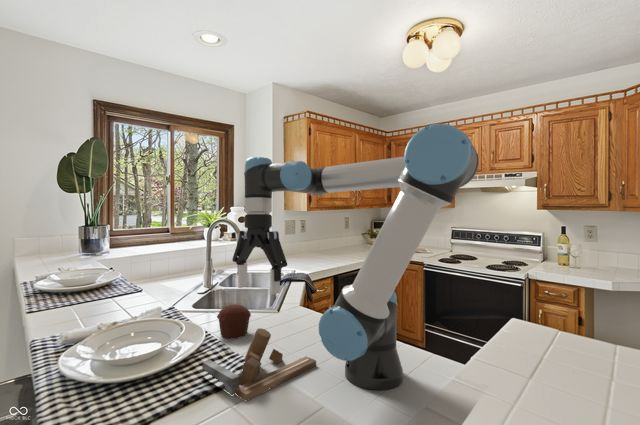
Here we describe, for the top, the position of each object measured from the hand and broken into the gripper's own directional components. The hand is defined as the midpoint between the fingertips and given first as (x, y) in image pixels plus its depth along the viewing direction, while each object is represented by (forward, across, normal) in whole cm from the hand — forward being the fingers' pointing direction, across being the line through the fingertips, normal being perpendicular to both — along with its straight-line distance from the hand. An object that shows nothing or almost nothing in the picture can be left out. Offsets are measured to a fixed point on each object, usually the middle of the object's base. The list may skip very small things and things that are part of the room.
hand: (258, 290), depth 91 cm
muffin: (+21, +27, -12) cm, 36 cm away
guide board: (+21, -2, +1) cm, 21 cm away
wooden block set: (+22, -2, +2) cm, 22 cm away
